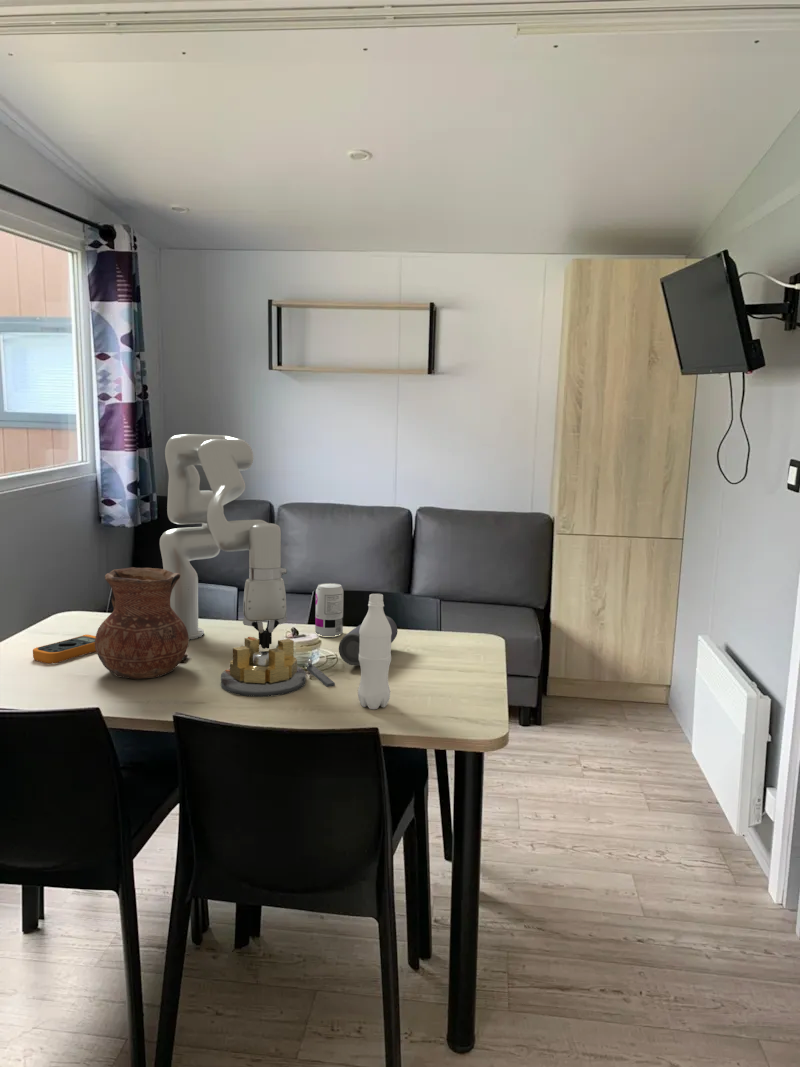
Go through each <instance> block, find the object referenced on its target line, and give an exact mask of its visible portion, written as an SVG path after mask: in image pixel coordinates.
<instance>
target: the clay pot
mask: <svg viewBox="0 0 800 1067" xmlns="http://www.w3.org/2000/svg"><path fill="white" fill-rule="evenodd" d="M180 576H181V575H180V574H179V573H172V572H170V571H168V570H165V569H163V568H157V567H155V568H154V567H153V568H152V567H134V566H131V567H124V568H118V569H113V570H111V571H110V572H107V573H105V575H104V579H105V581H106V582H107V584H108V585H109V587H110V588H111V603H112V607H113V611H112V612H111V613H110V614H109V615H108V616H107V618H105V619H104V621H103V622H101V624H100V625H99V627H98V628H97V631H96V634H95V636H96V638H95V649H96V654H97V657H98V659H99V661H100V662H101V663H102V665H103V666H104V668H105V669H107V670H108V671H109V672H110V673H112V674H113V675H115V676H116V677H118V678H124V679H125V678H126V679H134V680H135V679H136V680H138V679H139V680H140V679H141V680H142V679H145V680H146V679H153V678H158V677H162V676H164V675H167V674H169V673H171V672H172V671H173V670H175V669H176V668H177V667H178V666H179V664H180V663H181V662H182V660H183V658H184V657H185V655H186V653H187V650H188V647H189V643H190V642H189V641H190V640H189V637H188V632H187V629H186V626H185V624H184V623H183V621H182V620H181V619H180V618H179V616H178V615H177V614H176V613H175V612H174V611H173V609H172V608H171V606H170V597H171V593H172V589H173V587H174V586H175V584H176V582H177V581H178V579H179V578H180Z"/></svg>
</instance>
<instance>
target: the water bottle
mask: <svg viewBox="0 0 800 1067" xmlns="http://www.w3.org/2000/svg"><path fill="white" fill-rule="evenodd" d="M368 597H369V598H368V604H367V606H368V610H367V613H366V615H365V616H364V618H363V620H362V623H361V624H360V625H361V626H360V630H359V634H360V643H359V662H360V665H359V666H360V681H359V686H358V689H357V697H358V701H359V704H360V705H361V707H363V708H366V707H368V708H369V709H370V710H377V709H379V707H381V708H386V707H387V705H389V704H388V703H389V701H390V699H391V688H390V684H389V671H390V670H389V669H390V664H391V661H392V654H391V653H392V652H391V649H392V643H391V635H392V630H391V626H390V624H389V622H388V620H387V618H386V616H387V615H386V614H385V611H384V607H385V604H384V595H383V594H382V593H371V594H369V596H368Z"/></svg>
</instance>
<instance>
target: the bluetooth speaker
mask: <svg viewBox="0 0 800 1067" xmlns="http://www.w3.org/2000/svg"><path fill="white" fill-rule="evenodd" d="M385 616H386V618H387V620H388V622H389V624H390V626H391V630H392V635H391V644H392V643H394V640H396V638H397V636H398V627H397V624H396V622H395V621H394V620H393V618H392V617H390V616H388V615H385ZM360 626H361V624H359V625H357V626H356V627H354V628H353V629H352V630H350V631H349V632H348V633H346V634H345V635H344V636H343V638H342V639H341V640H340V642H339V645H338V654H339V656H340V658H341V660H342V661H343V662H344V663H346V664H347V665H350V666H360V662H359V643H360V634H359V630H360Z"/></svg>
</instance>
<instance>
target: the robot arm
mask: <svg viewBox="0 0 800 1067" xmlns="http://www.w3.org/2000/svg"><path fill="white" fill-rule="evenodd" d="M164 448H165V449H164V455H165V456H164V457H165V463H166V466H167V472H168V484H167V485H168V486H167V504H166V505H167V506H166V508H167V509H166V511H167V518H168V520H169V521H170V522H171V523H173V524H176V525H195V524H201V526H193V527H191V526H190V527H177V528H171V529H168V530H166V531H164V532H163V533H162V535H161V536H160V538H159V550H160V554H161V559H162V560H161V561H162V567H163V568H162V569H165V570H168V571H170V572H172V573H179V574H180V575H181V576H180V578H179V579H178V581H177V582H176V584H175V586H174V587H173V589H172V593H171V597H170V606H171V608H172V609H173V611H174V612H175V613H176V614H177V615H178V616H179V618H180V619H181V620H182V621H183V623H184V624H185V626H186V629H187V632H188V637H189V641H190V639H191V640H195V639H194V638H196V639H199V638H202V637H203V636H204V635H203V634H205V633H204V632H205V631H204V629H202V628H201V627H199V577H198V573H197V571H196V569H195V568H194V567H193V566H192V564H191V563H190V562H191V561H195V560H197V561H198V560H206V559H212V558H215V557H217V556H218V555H219V554H220V551H221V550H222V551H223V552H228V553H229V552H241V551H249V558H248V559H249V560H248V562H249V564H248V565H249V569H248V571H249V576H248V577H249V578H246V580H245V583H244V591H243V600H242V601H243V604H242V605H243V606H242V609H243V610H242V613H243V620H242V624H243V625H244V626H247V627H253V628H254V629H255V630H256V631H258V639H259V646H260V647H261V649H262V650H266V649H267V650H269V649H270V645H272V643H273V642H272V638H273V636H272V634H273V632H274V630H275V629H276V628H277V626H279V625H283V624H286V623H287V622H288V620H287V598H286V587H285V582H284V579H283V578H282V575H286V574H287V568H283V567H281V566H282V565H281V561H282V556H281V551H282V550H281V549H282V547H281V546H282V545H281V544H282V541H281V540H282V539H281V538H282V535H281V534H282V532H281V527H280V525H278V524H277V523H271V522H267V521H265V520H263V519H243V520H242V519H239V520H227V518H226V516H225V514H224V513H225V512H224V506H226V505H227V504H228V503H231V502H232V501H234V500H236V499H238V498H239V497H241V496H242V494H243V493H244V492H245V489H246V483H245V480H244V476H243V474H242V473H241V471H242V472H243V471H247V470H249V469H250V468H251V467H252V465H253V463H254V453H253V450H252V448H251V445H250V444H249V442H247V441H246V440H244V439H242V438H236V437H232V436H230V435H224V434H200V433H198V434H197V433H191V434H190V433H184V434H176V435H173V436H171V437H170V438H169V439H168V440H167V442H166V445H165V447H164ZM196 466H201V468H202V469H203V472H204V474H205V477H206V480H207V481H208V484H209V487H210V489H211V490H208V489H207V490H200V482H201V476H200V473H199V470H198V469H197V468H196ZM263 621H267V622H266V627H265V629H264V625H263V624H264V622H263ZM202 635H203V636H202ZM198 637H199V638H198Z"/></svg>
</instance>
